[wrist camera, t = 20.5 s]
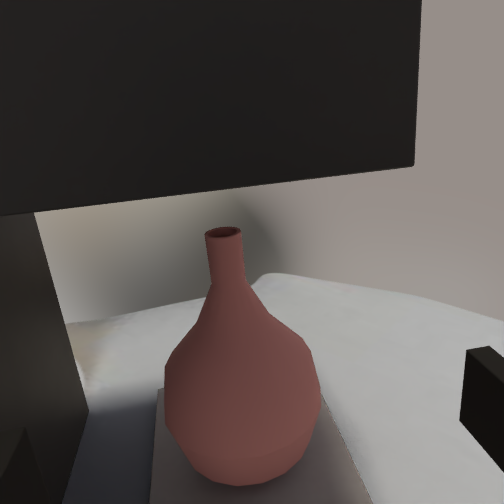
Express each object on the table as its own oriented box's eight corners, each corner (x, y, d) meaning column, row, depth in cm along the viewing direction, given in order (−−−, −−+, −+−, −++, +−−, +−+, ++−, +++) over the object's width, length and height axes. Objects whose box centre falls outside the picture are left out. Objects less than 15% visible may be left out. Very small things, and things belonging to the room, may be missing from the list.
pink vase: (198, 549, 18) (146, 287, 13) (160, 428, 24) (118, 228, 20) (354, 476, 20) (353, 237, 16) (282, 385, 27) (267, 199, 23)
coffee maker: (314, 371, 29) (299, 28, 22) (408, 565, 17) (446, -56, 10) (57, 416, 27) (-56, 57, 20) (-42, 669, 15) (-422, -4, 8)
